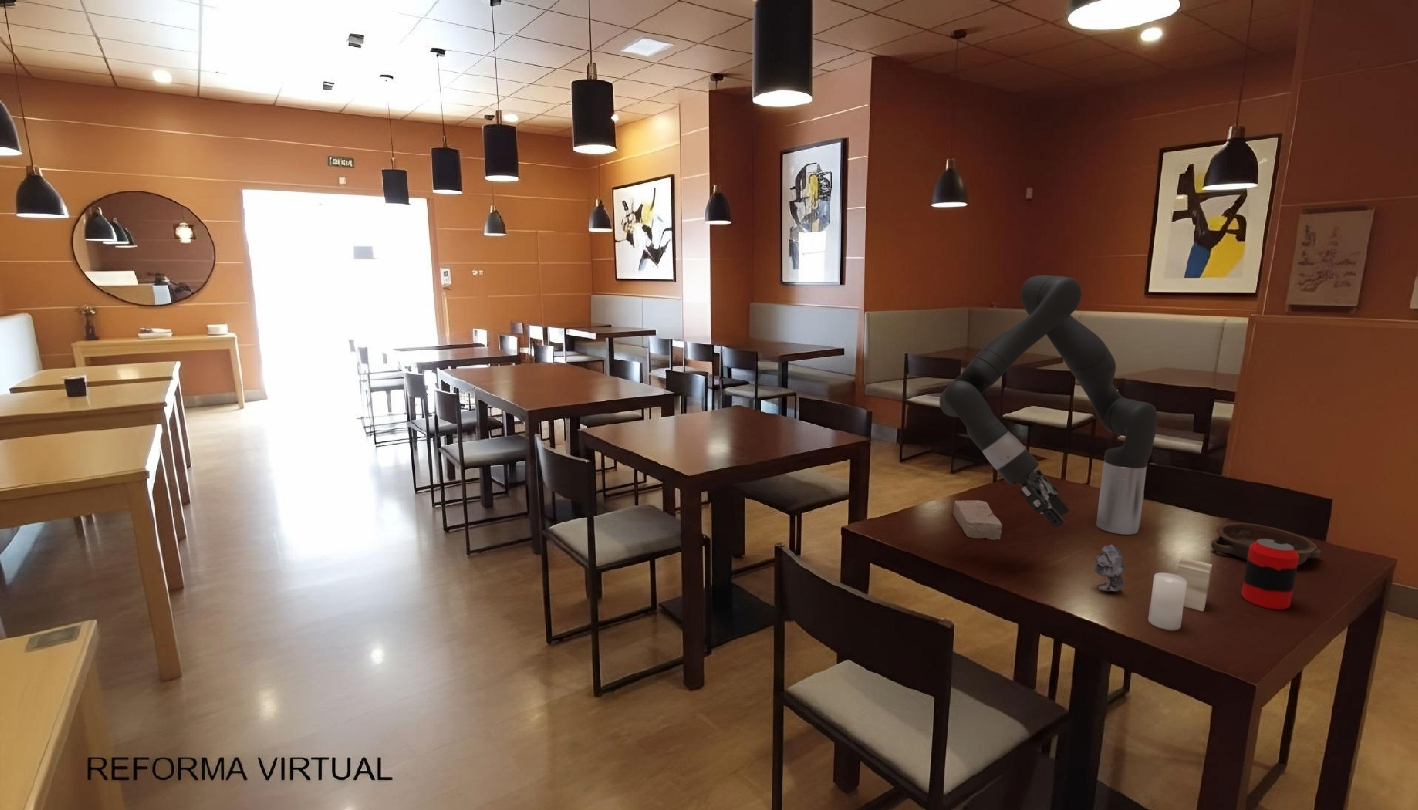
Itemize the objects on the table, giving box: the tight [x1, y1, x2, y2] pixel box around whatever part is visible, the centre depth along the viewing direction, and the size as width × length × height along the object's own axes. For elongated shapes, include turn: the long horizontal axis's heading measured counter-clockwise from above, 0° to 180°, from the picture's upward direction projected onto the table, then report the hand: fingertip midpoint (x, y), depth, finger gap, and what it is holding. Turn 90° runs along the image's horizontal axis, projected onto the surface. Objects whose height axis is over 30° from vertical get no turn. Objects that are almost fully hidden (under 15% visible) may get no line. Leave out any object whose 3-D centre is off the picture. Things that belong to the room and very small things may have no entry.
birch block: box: [1176, 557, 1213, 612], centre depth 134 cm, size 5×5×8 cm
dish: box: [1210, 522, 1322, 566], centre depth 157 cm, size 18×22×5 cm
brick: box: [953, 499, 1003, 540], centre depth 174 cm, size 16×8×5 cm, turn 173°
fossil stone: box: [1094, 544, 1126, 592], centre depth 139 cm, size 5×5×10 cm
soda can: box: [1241, 539, 1299, 611], centre depth 134 cm, size 8×8×12 cm
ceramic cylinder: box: [1147, 572, 1187, 631], centre depth 126 cm, size 5×5×9 cm
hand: (1063, 519), depth 142 cm, fingers open, 8 cm apart
